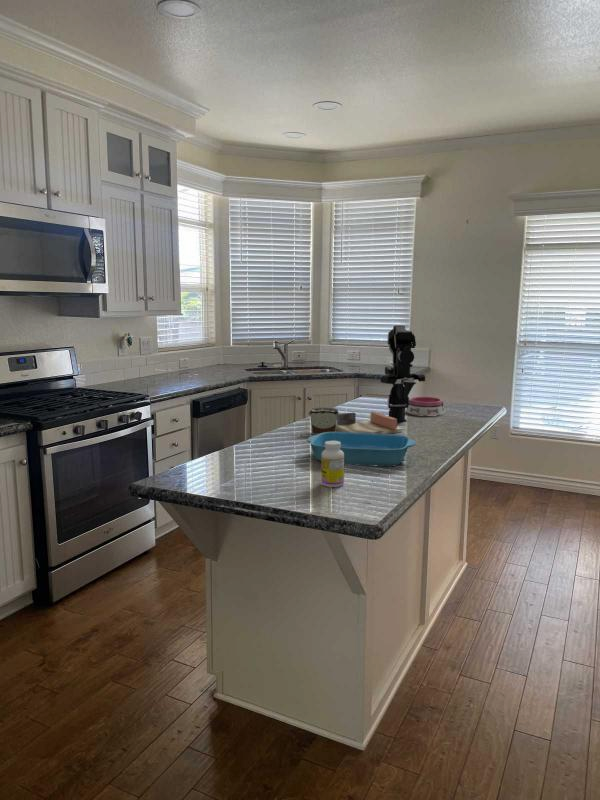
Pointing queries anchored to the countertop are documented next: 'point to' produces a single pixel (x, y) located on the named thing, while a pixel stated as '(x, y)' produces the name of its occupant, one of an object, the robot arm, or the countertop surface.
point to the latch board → (361, 425)
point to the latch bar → (383, 420)
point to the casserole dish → (365, 447)
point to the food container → (323, 419)
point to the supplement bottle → (332, 465)
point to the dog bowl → (425, 406)
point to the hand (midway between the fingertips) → (402, 399)
